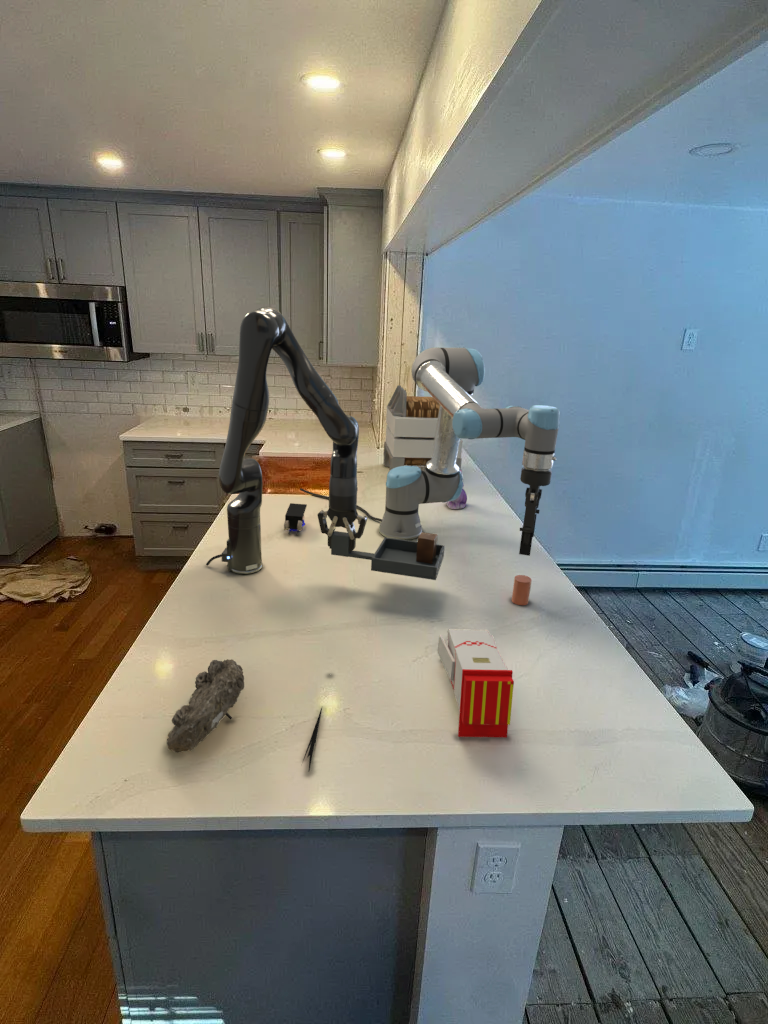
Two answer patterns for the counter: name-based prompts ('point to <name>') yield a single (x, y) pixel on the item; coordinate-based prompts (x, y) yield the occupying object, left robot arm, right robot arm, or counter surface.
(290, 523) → the figurine character
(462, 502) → the figurine
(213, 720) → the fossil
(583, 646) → the counter surface
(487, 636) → the toy
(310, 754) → the feather
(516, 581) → the terracotta cylinder
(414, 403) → the white crate
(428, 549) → the walnut block
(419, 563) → the tray
